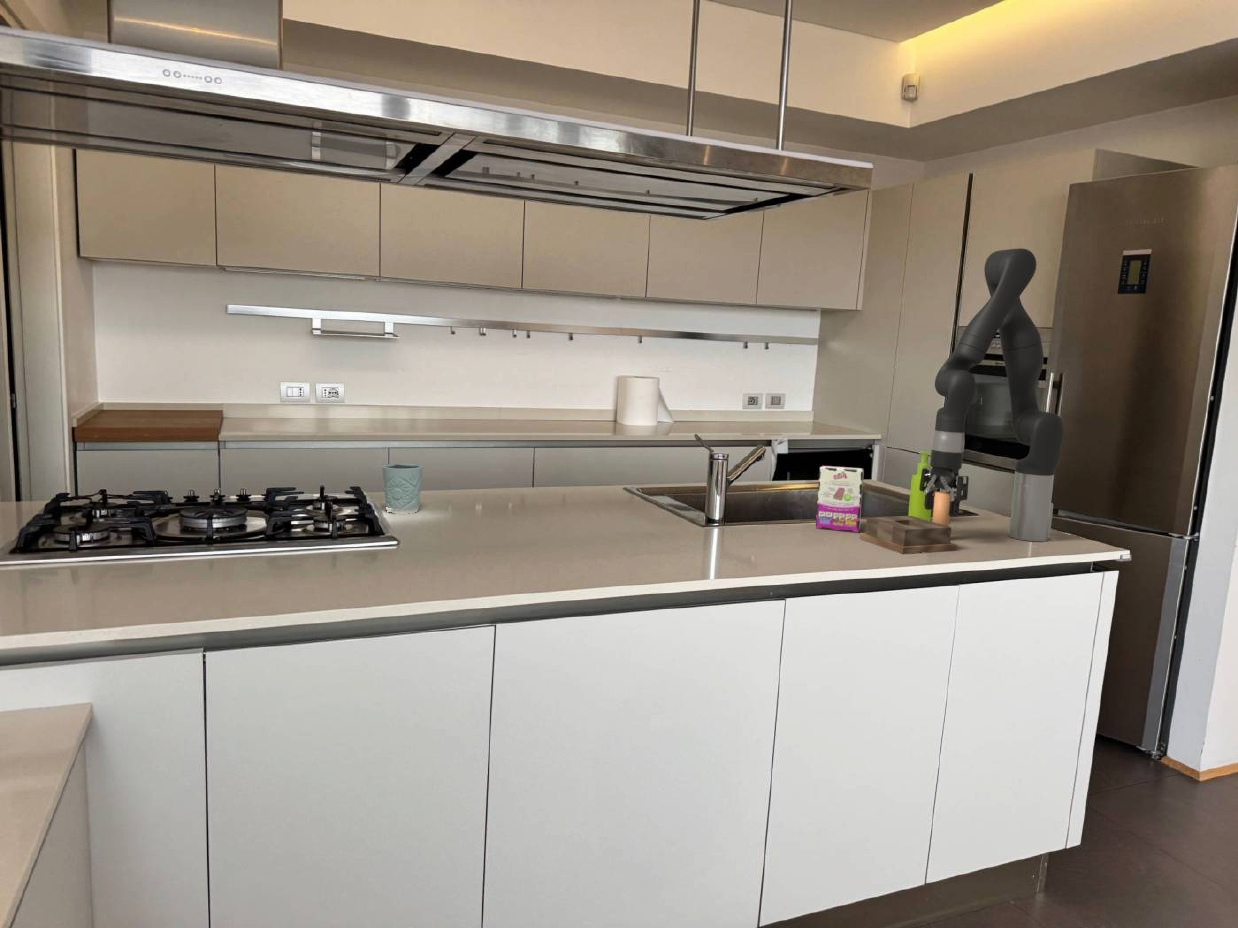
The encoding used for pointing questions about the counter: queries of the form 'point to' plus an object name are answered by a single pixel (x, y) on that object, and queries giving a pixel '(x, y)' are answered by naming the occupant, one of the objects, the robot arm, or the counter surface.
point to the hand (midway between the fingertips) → (940, 512)
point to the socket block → (908, 534)
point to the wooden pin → (941, 508)
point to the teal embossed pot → (402, 485)
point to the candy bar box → (839, 498)
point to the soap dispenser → (915, 494)
